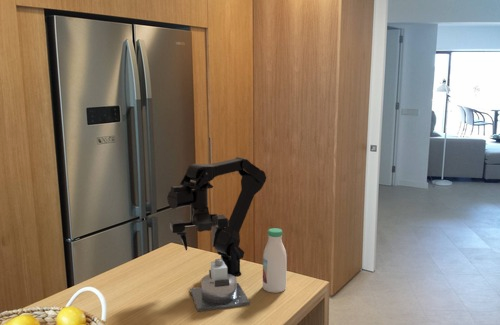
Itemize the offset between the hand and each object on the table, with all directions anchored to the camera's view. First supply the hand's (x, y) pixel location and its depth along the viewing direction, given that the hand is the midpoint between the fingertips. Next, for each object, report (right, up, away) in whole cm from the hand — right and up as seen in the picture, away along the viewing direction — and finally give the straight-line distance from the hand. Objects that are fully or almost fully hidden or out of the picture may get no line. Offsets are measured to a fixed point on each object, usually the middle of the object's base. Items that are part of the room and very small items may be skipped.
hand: (200, 248), depth 153 cm
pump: (+7, -8, -9) cm, 14 cm away
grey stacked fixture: (+7, -14, -8) cm, 18 cm away
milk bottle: (+25, -13, -1) cm, 28 cm away
